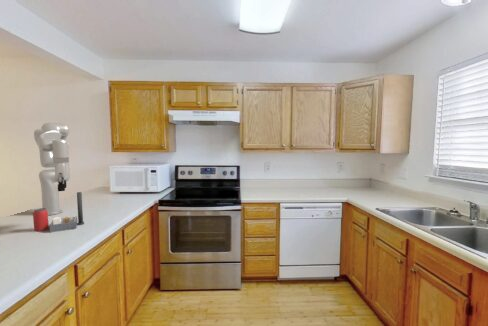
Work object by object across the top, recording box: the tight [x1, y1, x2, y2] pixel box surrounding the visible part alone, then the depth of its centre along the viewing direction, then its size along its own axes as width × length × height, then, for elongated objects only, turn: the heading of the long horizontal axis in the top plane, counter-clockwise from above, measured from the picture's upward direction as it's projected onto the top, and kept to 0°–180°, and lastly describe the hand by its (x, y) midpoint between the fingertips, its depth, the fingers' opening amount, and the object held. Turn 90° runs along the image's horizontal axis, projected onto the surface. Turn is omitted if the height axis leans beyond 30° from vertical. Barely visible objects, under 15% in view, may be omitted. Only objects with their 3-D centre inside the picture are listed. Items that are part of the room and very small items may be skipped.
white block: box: [52, 216, 62, 225], centre depth 141 cm, size 4×3×3 cm
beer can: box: [32, 207, 50, 232], centre depth 141 cm, size 7×7×12 cm
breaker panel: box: [49, 215, 78, 233], centre depth 146 cm, size 12×12×6 cm
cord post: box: [76, 191, 85, 226], centre depth 151 cm, size 4×4×20 cm
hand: (62, 189), depth 144 cm, fingers open, 9 cm apart
